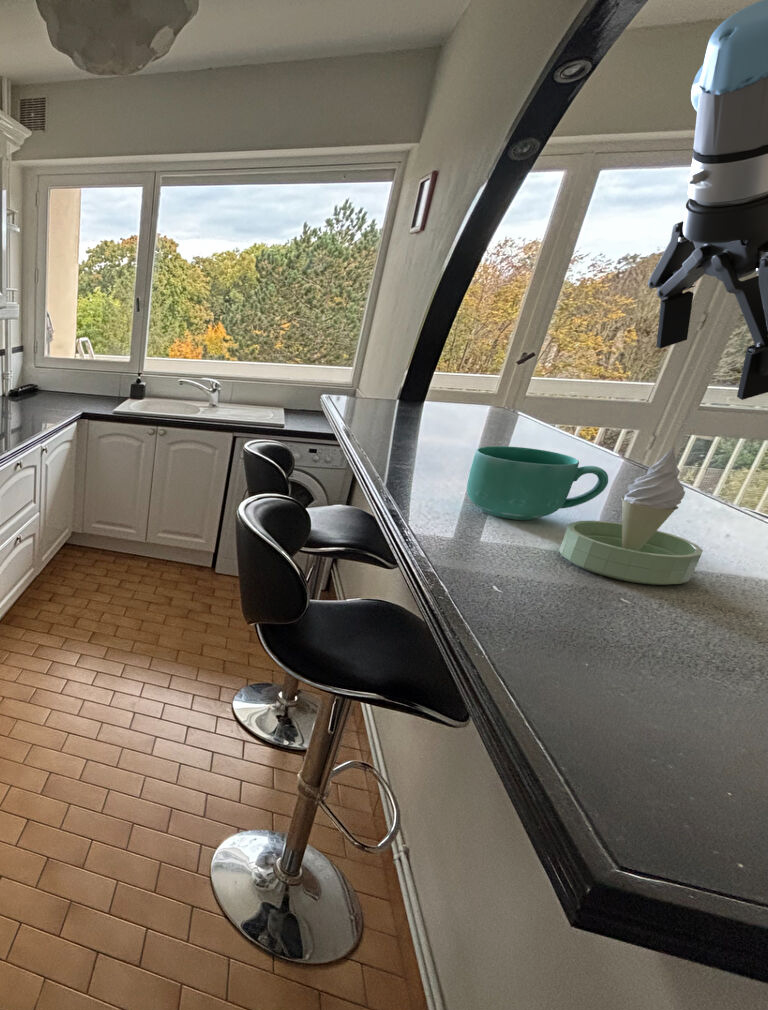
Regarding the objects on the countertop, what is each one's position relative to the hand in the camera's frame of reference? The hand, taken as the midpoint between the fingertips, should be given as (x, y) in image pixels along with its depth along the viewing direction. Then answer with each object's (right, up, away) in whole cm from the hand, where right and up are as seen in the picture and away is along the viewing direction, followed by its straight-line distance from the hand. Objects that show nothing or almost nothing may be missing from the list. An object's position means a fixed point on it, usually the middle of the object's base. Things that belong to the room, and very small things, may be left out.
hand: (710, 366), depth 71 cm
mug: (-5, -17, +22) cm, 28 cm away
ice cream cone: (-7, -24, +3) cm, 25 cm away
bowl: (-7, -24, +4) cm, 26 cm away
